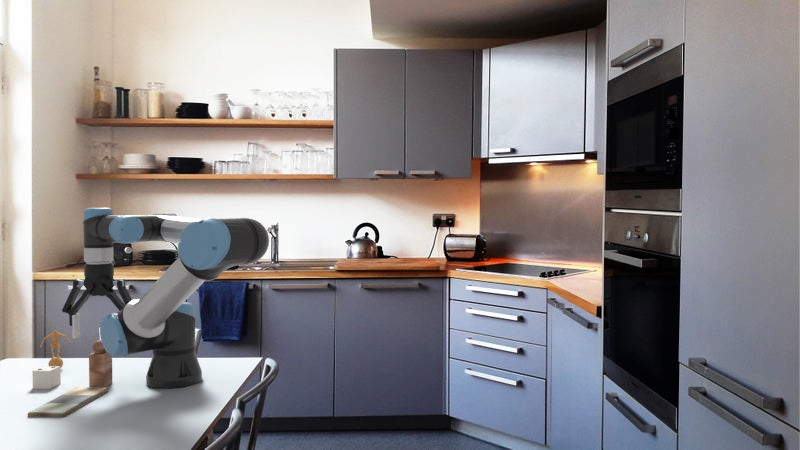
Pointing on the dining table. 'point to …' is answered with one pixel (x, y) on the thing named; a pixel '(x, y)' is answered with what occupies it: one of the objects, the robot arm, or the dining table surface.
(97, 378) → the pawn
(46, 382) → the die
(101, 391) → the board
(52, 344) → the figurine
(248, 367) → the dining table surface
